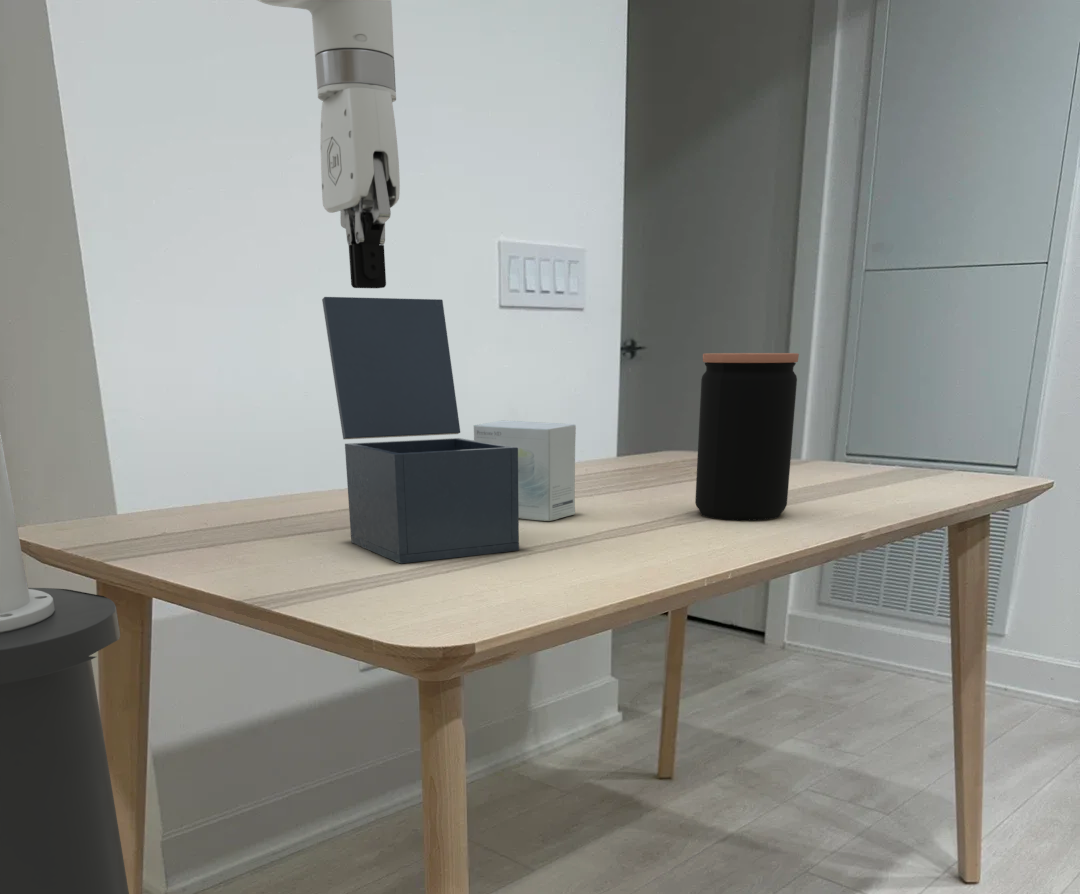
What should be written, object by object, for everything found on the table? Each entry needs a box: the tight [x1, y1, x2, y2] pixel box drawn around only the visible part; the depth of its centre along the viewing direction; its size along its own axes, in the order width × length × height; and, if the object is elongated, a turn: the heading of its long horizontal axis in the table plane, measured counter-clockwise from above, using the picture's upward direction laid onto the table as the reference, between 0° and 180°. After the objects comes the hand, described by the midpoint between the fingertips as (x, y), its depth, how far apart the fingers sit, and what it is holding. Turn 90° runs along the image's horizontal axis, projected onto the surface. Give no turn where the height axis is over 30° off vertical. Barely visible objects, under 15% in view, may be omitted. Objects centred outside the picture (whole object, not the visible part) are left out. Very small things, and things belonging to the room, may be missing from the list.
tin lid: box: [321, 296, 461, 440], centre depth 102 cm, size 13×13×1 cm
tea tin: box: [344, 437, 520, 565], centre depth 100 cm, size 13×13×10 cm
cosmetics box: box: [473, 420, 577, 522], centre depth 119 cm, size 10×6×10 cm, turn 58°
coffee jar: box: [694, 352, 800, 522], centre depth 117 cm, size 11×11×18 cm
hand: (368, 287), depth 104 cm, fingers closed
